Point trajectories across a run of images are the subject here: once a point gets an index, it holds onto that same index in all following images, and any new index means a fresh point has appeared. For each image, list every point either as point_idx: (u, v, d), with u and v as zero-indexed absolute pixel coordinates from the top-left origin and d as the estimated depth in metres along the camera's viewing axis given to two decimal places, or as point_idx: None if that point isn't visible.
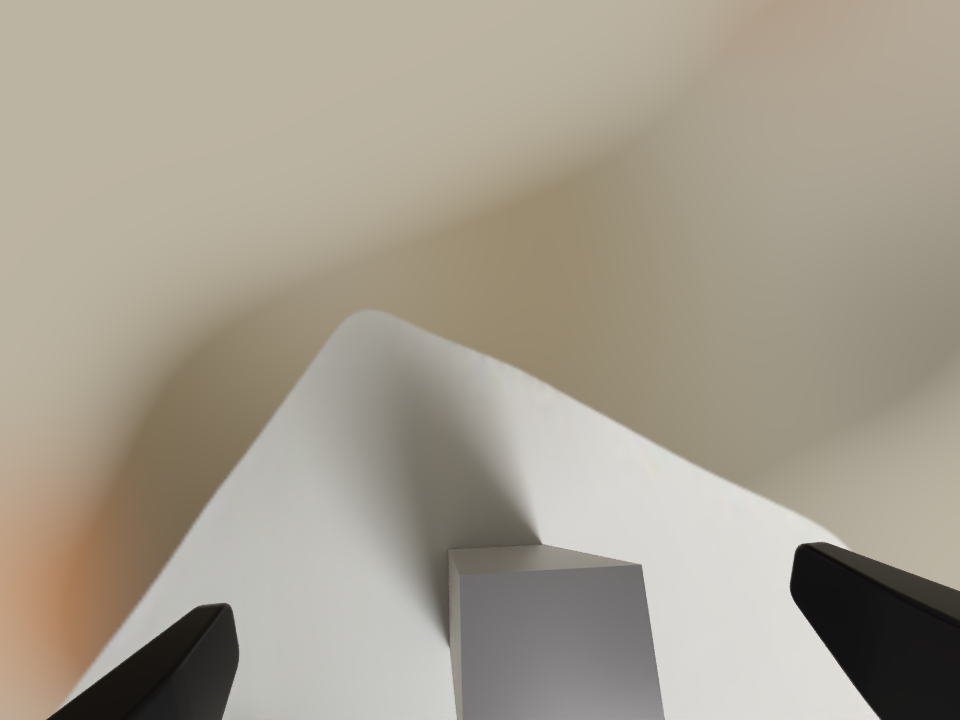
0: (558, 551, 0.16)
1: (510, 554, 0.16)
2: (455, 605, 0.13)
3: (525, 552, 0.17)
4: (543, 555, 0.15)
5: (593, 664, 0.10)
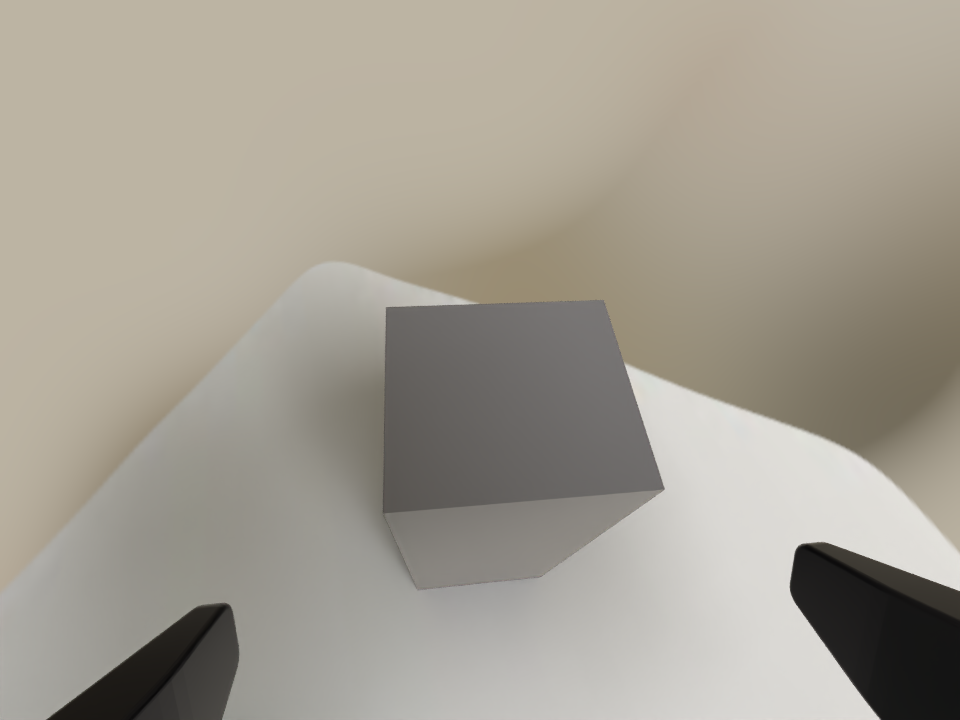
0: None
1: None
2: None
3: None
4: None
5: (552, 387, 0.08)
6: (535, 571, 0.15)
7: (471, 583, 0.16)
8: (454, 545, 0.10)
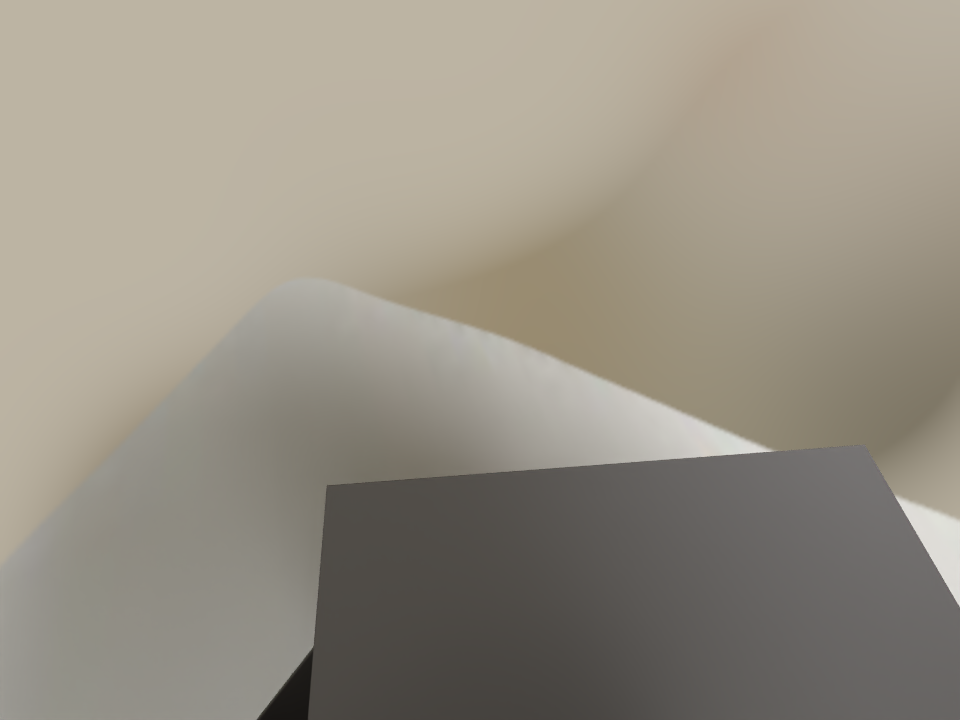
0: None
1: None
2: None
3: None
4: None
5: None
6: None
7: None
8: None
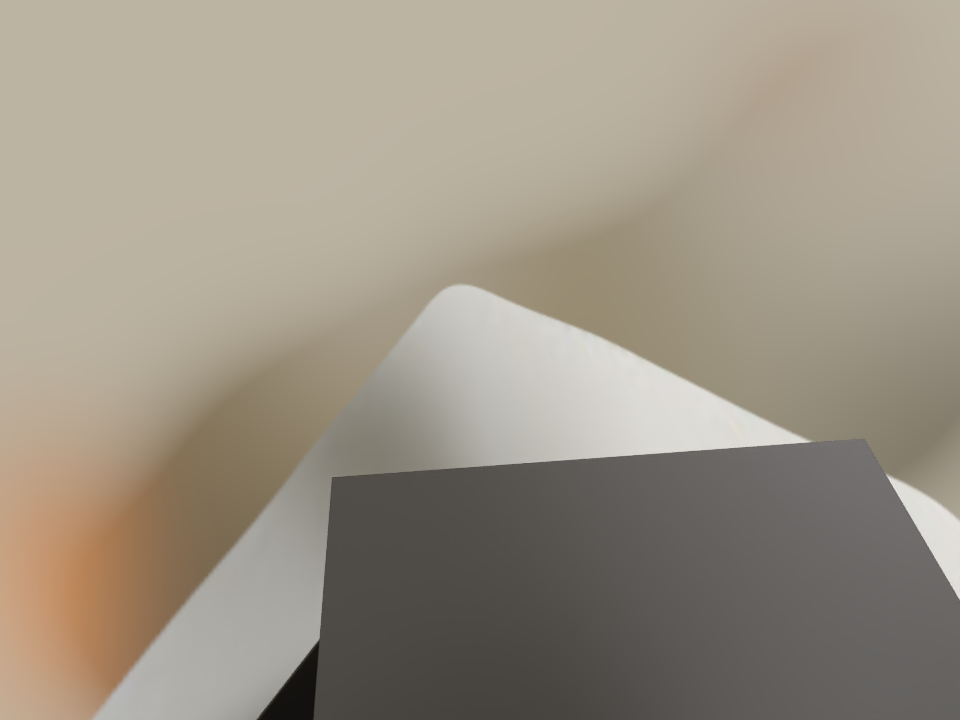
0: None
1: None
2: None
3: None
4: None
5: None
6: None
7: None
8: None
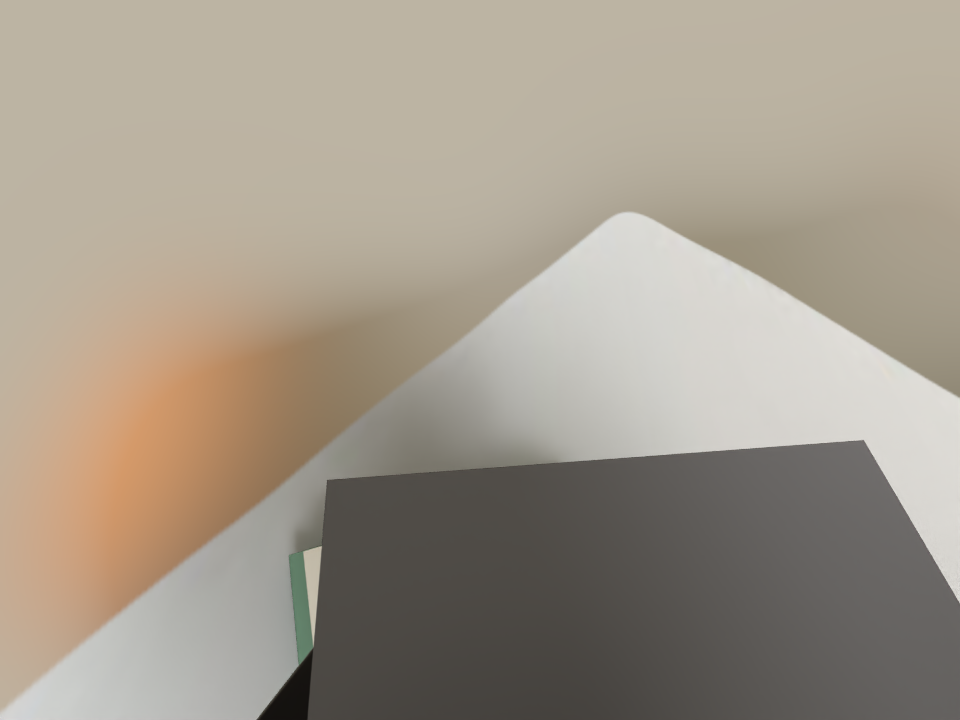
0: None
1: None
2: None
3: None
4: None
5: None
6: None
7: None
8: None
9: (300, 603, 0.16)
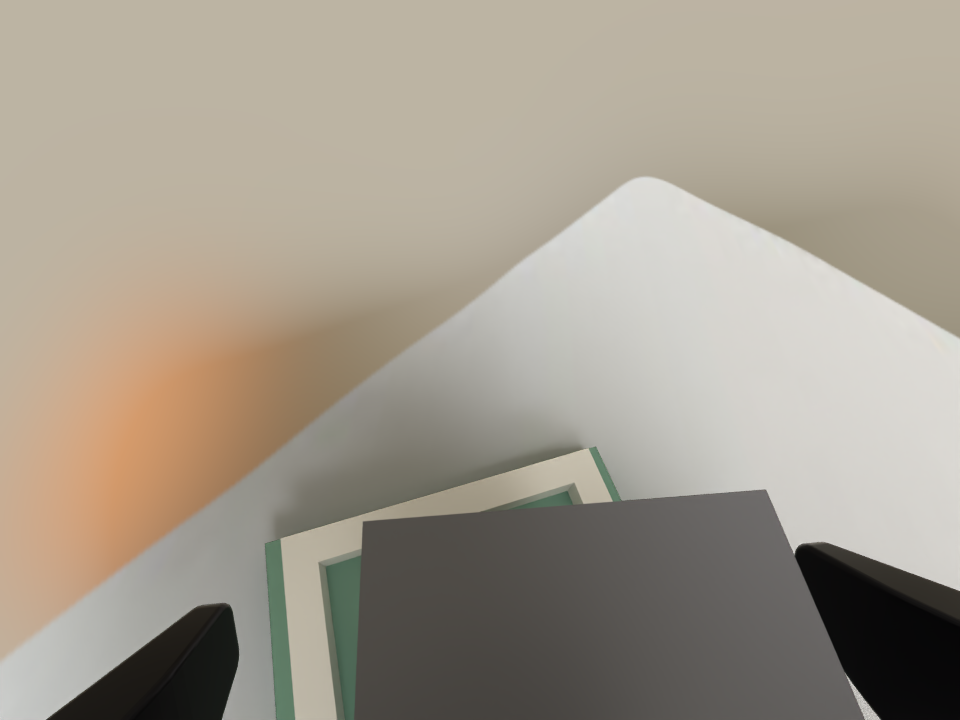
0: None
1: None
2: None
3: None
4: None
5: None
6: None
7: None
8: None
9: (277, 599, 0.14)
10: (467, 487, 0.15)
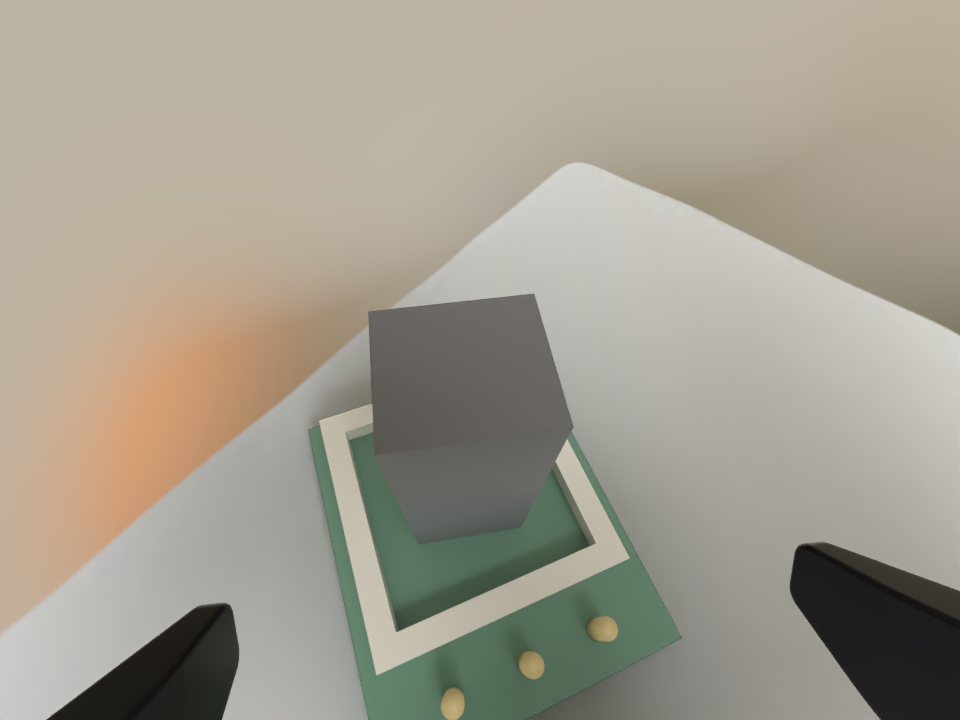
0: None
1: None
2: None
3: None
4: None
5: (494, 361, 0.11)
6: (513, 520, 0.18)
7: (463, 536, 0.19)
8: (435, 488, 0.12)
9: (320, 460, 0.21)
10: None
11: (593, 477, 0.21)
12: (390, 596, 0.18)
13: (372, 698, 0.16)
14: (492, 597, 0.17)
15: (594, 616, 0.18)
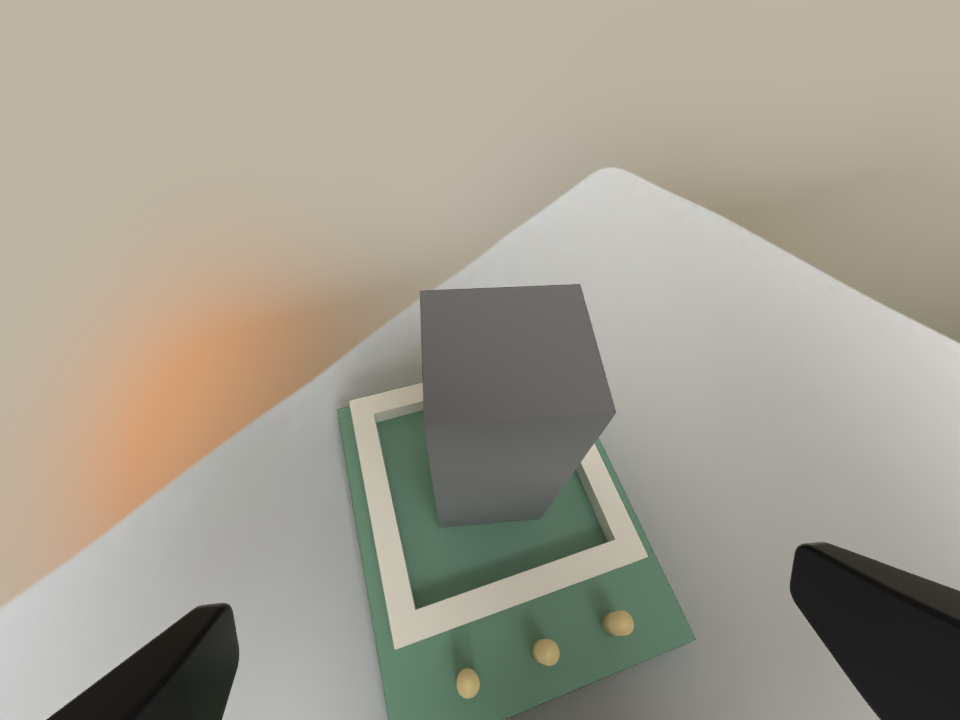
0: None
1: None
2: None
3: None
4: None
5: (540, 345, 0.11)
6: (535, 510, 0.18)
7: (483, 522, 0.19)
8: (470, 467, 0.13)
9: (347, 440, 0.21)
10: None
11: (614, 475, 0.21)
12: (410, 575, 0.18)
13: (388, 672, 0.17)
14: (510, 583, 0.17)
15: (609, 611, 0.18)
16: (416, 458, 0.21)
